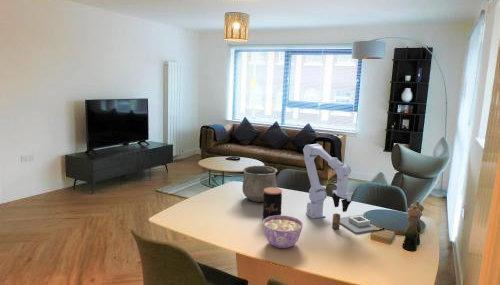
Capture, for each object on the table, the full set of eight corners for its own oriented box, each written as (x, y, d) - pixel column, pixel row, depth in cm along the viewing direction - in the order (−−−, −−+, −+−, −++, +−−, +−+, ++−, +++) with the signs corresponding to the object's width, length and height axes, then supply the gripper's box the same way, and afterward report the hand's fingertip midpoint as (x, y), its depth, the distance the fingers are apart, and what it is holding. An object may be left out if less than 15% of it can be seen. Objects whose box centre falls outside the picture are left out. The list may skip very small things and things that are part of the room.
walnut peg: (334, 230, 201) (335, 216, 199) (330, 227, 204) (331, 214, 203) (340, 229, 202) (341, 215, 201) (336, 226, 206) (337, 213, 204)
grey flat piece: (355, 234, 196) (356, 228, 196) (334, 220, 215) (334, 214, 214) (384, 229, 204) (385, 223, 203) (361, 216, 222) (362, 210, 221)
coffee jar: (259, 220, 211) (260, 191, 208) (267, 214, 220) (268, 186, 217) (276, 224, 206) (277, 194, 203) (283, 218, 216) (284, 189, 212)
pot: (235, 196, 251) (236, 166, 247) (264, 192, 262) (265, 163, 258) (252, 208, 229) (253, 176, 225) (283, 203, 240) (285, 172, 236)
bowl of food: (279, 258, 168) (280, 234, 166) (254, 241, 184) (254, 220, 182) (310, 247, 180) (311, 225, 178) (283, 232, 196) (284, 212, 193)
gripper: (356, 189, 199) (354, 212, 201) (340, 182, 212) (338, 204, 214) (345, 190, 196) (343, 214, 198) (330, 183, 209) (328, 205, 211)
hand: (340, 209), depth 206 cm, fingers open, 7 cm apart
